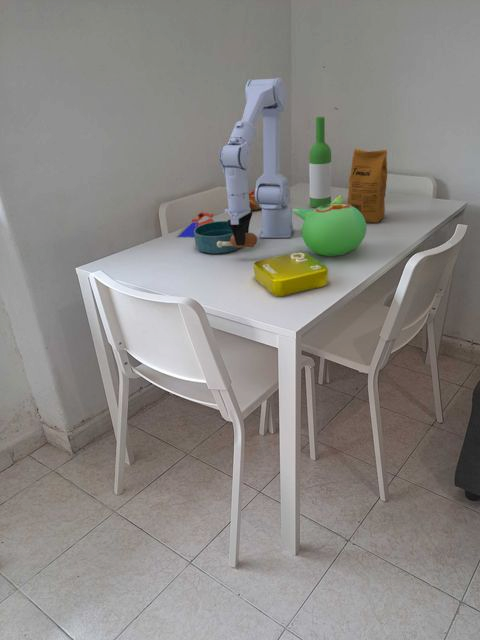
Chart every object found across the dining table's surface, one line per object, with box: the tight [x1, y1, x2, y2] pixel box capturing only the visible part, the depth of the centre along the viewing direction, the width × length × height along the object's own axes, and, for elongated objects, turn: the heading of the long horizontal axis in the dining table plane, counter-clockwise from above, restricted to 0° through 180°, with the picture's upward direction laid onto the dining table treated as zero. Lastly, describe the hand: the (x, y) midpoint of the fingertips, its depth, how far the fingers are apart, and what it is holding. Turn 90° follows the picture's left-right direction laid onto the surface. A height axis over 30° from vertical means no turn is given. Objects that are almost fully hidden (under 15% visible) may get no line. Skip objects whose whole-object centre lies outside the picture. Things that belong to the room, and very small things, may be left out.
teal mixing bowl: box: [194, 220, 241, 255], centre depth 151 cm, size 15×15×6 cm
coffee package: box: [346, 148, 388, 224], centre depth 161 cm, size 10×12×22 cm
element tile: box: [253, 251, 329, 297], centre depth 125 cm, size 15×15×5 cm
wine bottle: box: [308, 116, 332, 209], centre depth 176 cm, size 8×8×30 cm
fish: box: [177, 210, 214, 238], centre depth 166 cm, size 13×5×8 cm
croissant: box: [249, 189, 262, 211], centre depth 187 cm, size 21×10×8 cm, turn 141°
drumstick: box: [217, 232, 258, 249], centre depth 138 cm, size 12×4×4 cm, turn 81°
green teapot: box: [292, 194, 367, 257], centre depth 137 cm, size 18×17×15 cm
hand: (242, 242), depth 138 cm, fingers closed on drumstick, 4 cm apart
